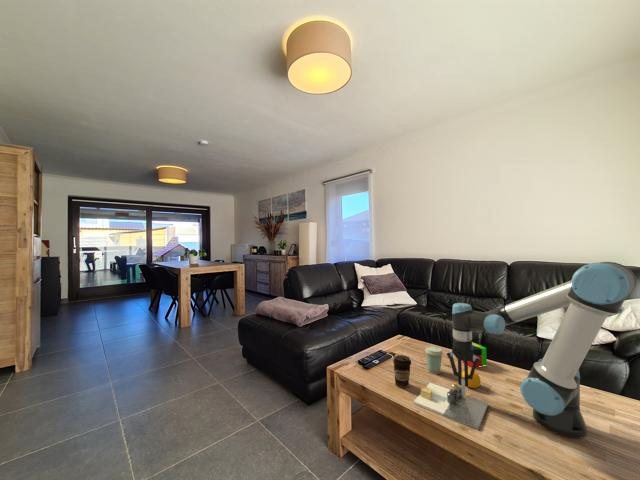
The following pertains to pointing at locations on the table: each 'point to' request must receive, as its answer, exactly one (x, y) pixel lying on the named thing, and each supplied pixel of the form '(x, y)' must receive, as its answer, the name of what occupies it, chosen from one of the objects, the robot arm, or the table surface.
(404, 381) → the coffee cup
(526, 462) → the table surface
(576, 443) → the table surface
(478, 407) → the plate
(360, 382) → the table surface
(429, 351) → the coffee cup
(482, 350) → the puzzle toy
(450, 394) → the pivot post
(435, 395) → the door board
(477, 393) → the table surface
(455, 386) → the swing bar
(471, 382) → the orange
